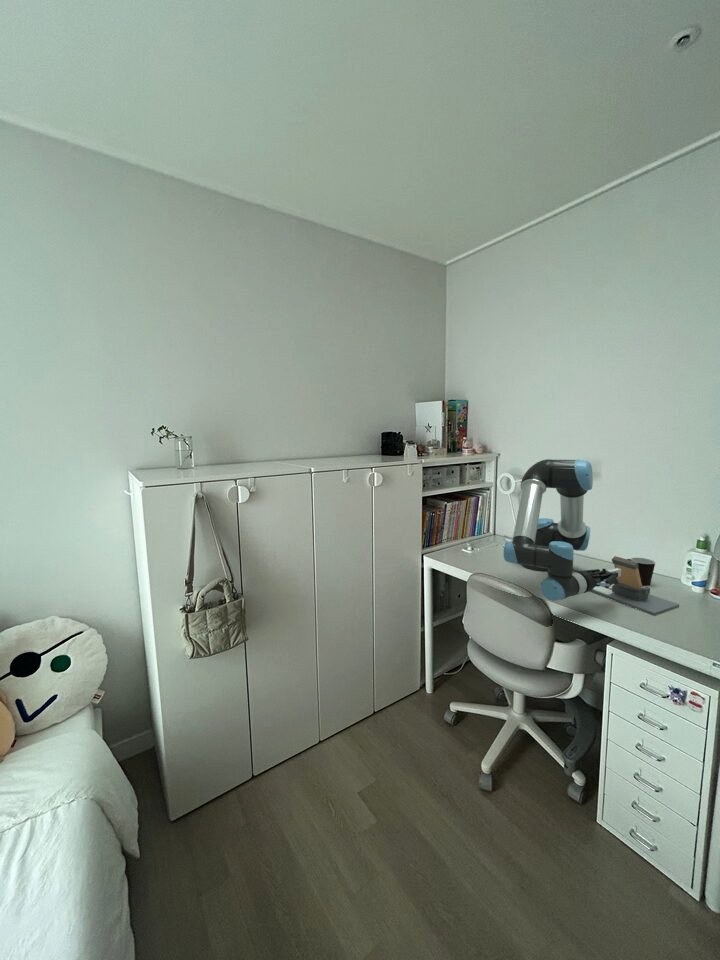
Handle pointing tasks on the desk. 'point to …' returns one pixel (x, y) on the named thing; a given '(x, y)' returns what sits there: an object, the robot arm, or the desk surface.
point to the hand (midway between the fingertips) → (619, 572)
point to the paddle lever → (628, 573)
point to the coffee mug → (645, 569)
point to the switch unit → (635, 598)
